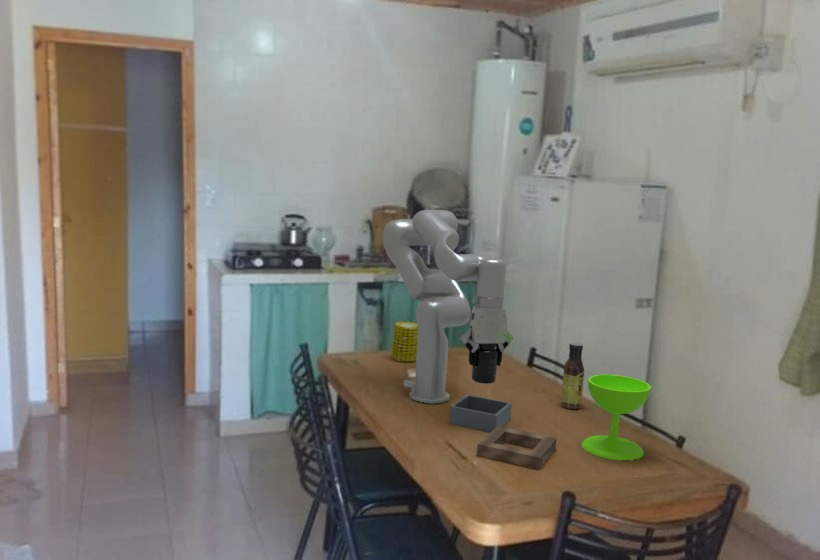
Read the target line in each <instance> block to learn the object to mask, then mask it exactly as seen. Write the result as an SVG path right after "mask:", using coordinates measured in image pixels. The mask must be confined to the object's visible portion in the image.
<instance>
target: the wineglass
mask: <svg viewBox="0 0 820 560" xmlns="http://www.w3.org/2000/svg"><path fill="white" fill-rule="evenodd" d="M587 388H588V391H589V394H590V396H591V398H592V399H593V401H594V403H595V404H596V405H598V406H599V407H600V408H601V409H602V410H604V411H605V412H608V413H611V421H610V422H611V423H610V433H609V435H606V434H605V435H604V434H603V435H602V434H601V435H599V434H598V435H591V436H588V437H586V438H585V439H584V440H583V441H582V443H581V447H582V449H583V448H584V449H585V451H586V450H587V451H588V453H589V452H590V453H589V454H591V453H592V454H591V455H593V454H594V455H593V456H596V457H598V456H599V458H602V457H603V458H602V459H606V458H607V460H612V461H621V460H630V461H635V460H634V459H637V460H639V459H642V458H643V456H644V455H645V454H644V453H645V452H644V450H643V449H642V447H641V446H640V445H639V444H637V443H636V442H634V441H632V440H629V439H627V438H623V437H620V436H618V433H619V424H620V416H621V415H624V414H625V415H626V414H631V413H633V412H636V411H637V410H639V409H640V408H642V406H643V405H645V404H646V402H647V400H648V398H649V397H650V393H651V390H652V385H650V384H649V383H648V382H646V381H644V380H641V379H638V378H634V377H631V376H626V375H618V374H595V375H591V376H589V377H588V378H587ZM584 449H583V450H584ZM587 451H586V452H587ZM641 457H642V458H641Z"/></svg>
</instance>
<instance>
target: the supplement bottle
mask: <svg viewBox="0 0 820 560" xmlns="http://www.w3.org/2000/svg"><path fill="white" fill-rule="evenodd" d="M476 353H477V364H476V367H473V366H472V370H471V379H472V381H473V382H474V383H479V384H493V383H495V382H496V380H497V370H498V365H497V361H498V351H497V350H496V346H495V344H479V346H478V348H477V349H476Z"/></svg>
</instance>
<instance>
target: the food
mask: <svg viewBox="0 0 820 560" xmlns="http://www.w3.org/2000/svg"><path fill="white" fill-rule="evenodd" d="M392 338H393V340H392V347H391V349H392V350H391V359H392V360H394V361H395V360H396V361H397V362H398V361H400V362H402V363H404V362H411V361H412V362H413V361H414V362H416V360H417V343H418V326H417V323H415V322H414V321H411V322H410V321H397V322H395V323H394V329H393V336H392ZM403 361H404V362H403Z"/></svg>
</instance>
